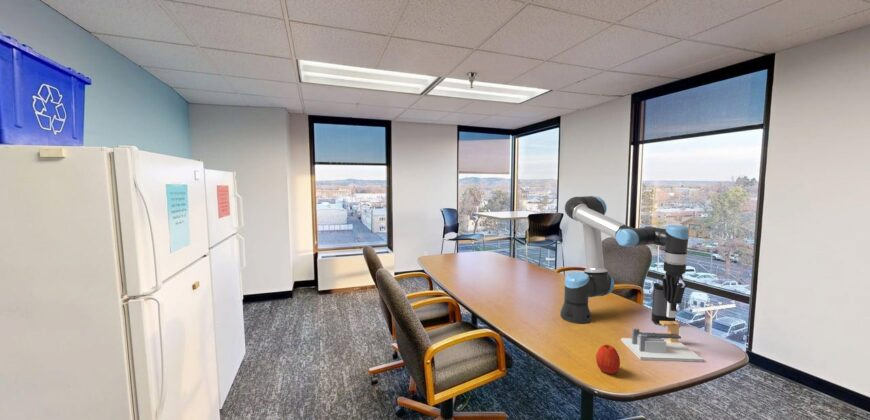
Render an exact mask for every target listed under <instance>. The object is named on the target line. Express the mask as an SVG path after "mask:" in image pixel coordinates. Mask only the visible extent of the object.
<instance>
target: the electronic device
mask: <svg viewBox="0 0 870 420" xmlns="http://www.w3.org/2000/svg"><path fill="white" fill-rule="evenodd" d="M652 287H653V289H652V290H653V291H652V303H651V306H652V308H651V321H652V323H653V324H655V325H658V326H663V325H662V324H660V321H675V322H676V315H675V318H668V317H667V316H666V314H667V300H666V298H664V294H663V284H660V283H659V282H654V283H653V286H652Z"/></svg>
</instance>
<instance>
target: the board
mask: <svg viewBox="0 0 870 420" xmlns="http://www.w3.org/2000/svg"><path fill="white" fill-rule="evenodd" d="M631 330H632V335H631V337H630V338H629V337H627V338H626V337H622V338H621V339H620V341H621V342H622V343H623V344H624V345H625V346H626V348H628V349H629V350H630V351H631V352H632V353H633V354H634V355H635V356H636V357H637V358H638V359H639V360H640V361H641V360H642V361H663V362H665V361H666V362H689V363H690V362H691V363H693V362H694V363H703V362H704V358H702V357H701V356H700V355H698V353H696V352H694V351H693V350H691V349H690V348H689V347H687V346H686V345H685V344H683V343H682V342H680V341H679V340H678V342H670V341H669V340H668V339H667V338H647V335H640V337H639V336H638V335H637V334H636V333H635V332H638V333H656V332H654V331H653V332H652V331H640V328H637V327H636V328H632V329H631Z"/></svg>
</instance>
